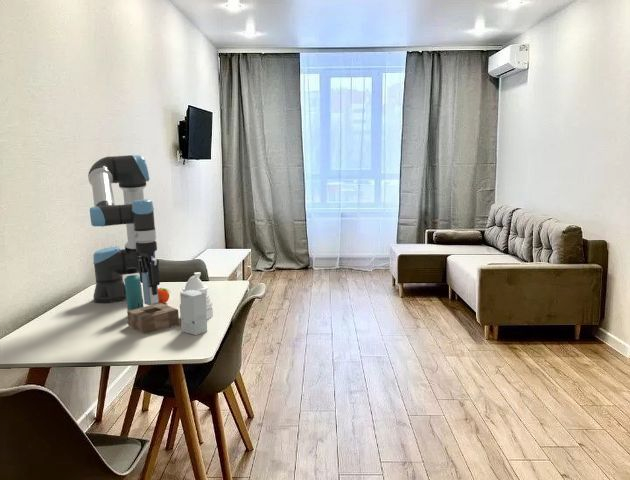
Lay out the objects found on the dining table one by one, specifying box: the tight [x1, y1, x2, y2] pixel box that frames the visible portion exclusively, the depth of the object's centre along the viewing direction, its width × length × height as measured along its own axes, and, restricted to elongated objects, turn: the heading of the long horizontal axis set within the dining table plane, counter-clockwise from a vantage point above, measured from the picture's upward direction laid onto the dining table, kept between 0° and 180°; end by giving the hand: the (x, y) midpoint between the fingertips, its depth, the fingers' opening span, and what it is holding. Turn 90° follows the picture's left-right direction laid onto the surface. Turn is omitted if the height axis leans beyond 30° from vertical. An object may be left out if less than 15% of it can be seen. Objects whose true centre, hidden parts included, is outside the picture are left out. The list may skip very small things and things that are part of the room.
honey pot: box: [179, 271, 214, 320], centre depth 224 cm, size 13×13×18 cm
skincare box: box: [179, 290, 208, 336], centre depth 205 cm, size 8×6×15 cm
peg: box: [141, 272, 159, 306], centre depth 214 cm, size 4×4×12 cm
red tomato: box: [158, 287, 171, 304], centre depth 246 cm, size 8×7×7 cm
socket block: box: [126, 303, 180, 335], centre depth 216 cm, size 14×14×6 cm
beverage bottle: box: [123, 267, 145, 312], centre depth 228 cm, size 6×7×20 cm
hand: (151, 301), depth 215 cm, fingers closed on peg, 4 cm apart
